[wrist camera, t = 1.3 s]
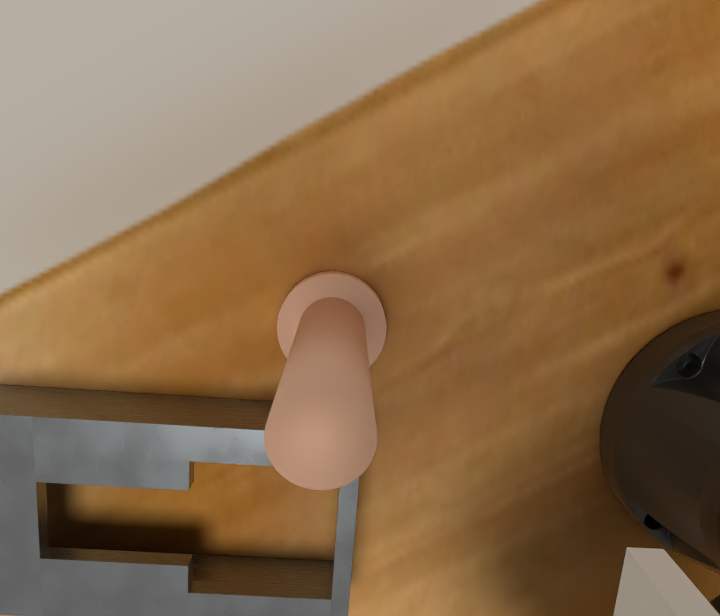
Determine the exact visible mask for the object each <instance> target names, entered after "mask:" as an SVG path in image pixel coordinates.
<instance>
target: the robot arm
mask: <svg viewBox="0 0 720 616" xmlns="http://www.w3.org/2000/svg"><path fill="white" fill-rule="evenodd" d="M600 453H601V460H602V465H603V469H604V473H605V475H606V478H607V481H608V483H609V485H610V487H611V489H612V491H613V493H614V494H615V496H616V497H617V499H618V500H619V501H620V503H621V504H622V505H623V506H624V507H625V509H626V510H627V511H628V512H629V513H630V515H631V516H632V517H633V518H634V519H635V520H636V522H637V523H638V524H639V525H640V526H641V527H642V528H643V529H644V530H645V531H646V532H647V533H648V534H650V535H651V536H652V537H653V538H654V539H656V540H657V541H659V542H660V543H661V544H663V545H665V546H666V547H668V548H669V549H671V550H673V551H675V552H677V553H679V554H681V555H683V556H685V557H687V558H688V559H690V560H692V561H694V562H696V563H698V564H700V565H702V566H704V567H706V568H708V569H710V570H711V571H713V572H715V573H717V574H719V575H720V311H715V312H711V313H707V314H703V315H700V316H697V317H694V318H692V319H689V320H687V321H685V322H683V323H680V324H678V325H676V326H675V327H673V328H671V329H669V330H668V331H666V332H665V333H663V334H662V335H660V336H659V337H657V338H656V339H655V340H653V341H652V342H651V343H650V344H648V345H647V346H646V347H645V348H644V349H643V350H642V351H641V352H640V353H639V354H638V355H637V356H636V357H635V358H634V359H633V360H632V362H631V363H630V364H629V365H628V366H627V368H626V369H625V370H624V372H623V373H622V375H621V376H620V378H619V379H618V381H617V383H616V385H615V386H614V388H613V390H612V392H611V395H610V397H609V399H608V402H607V405H606V408H605V411H604V415H603V419H602V424H601V431H600ZM613 616H720V595H719V596H718V597H716V598H715V599H713V600H712V601H711V602H708V600H707V599H706V598H705V597H704V596H703V595H702V593H701V592H700V591H699V590H698V589H697V588H696V586H695V585H694V584H693V583H692V582H691V581H690V579H689V578H688V577H687V576H686V575H685V573H684V572H683V571H682V570H681V569H680V568H679V566H678V565H677V564H676V563H675V562H674V561H673V559H672V558H671V557H670V556H669V555H668V554H667V552H666V551H665V550H664V549H653V548H633V547H627V549H626V554H625V559H624V564H623V569H622V574H621V579H620V584H619V589H618V594H617V599H616V604H615V609H614V614H613Z"/></svg>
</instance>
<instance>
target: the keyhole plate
mask: <svg viewBox="0 0 720 616" xmlns="http://www.w3.org/2000/svg"><path fill="white" fill-rule="evenodd" d="M272 404H273V401H260V400H244V399H228V398H211V397H195V396H179V395H163V394H146V393H130V392H114V391H98V390H82V389H65V388H49V387H33V386H17V385H0V615H18V616H348V609H349V596H350V584H351V572H352V560H353V548H354V535H355V523H356V511H357V499H358V486H359V477H358V478H357V479H355V480H354V481H352V482H351V483H349V484H347V485H344V486H342V487H339V497H338V511H337V524H336V538H335V552H334V561H318V560H299V559H279V558H260V557H240V556H221V555H201V554H182V553H162V552H143V551H124V550H104V549H85V548H65V547H49V531H48V511H47V491H46V483H62V484H80V485H98V486H116V487H134V488H153V489H171V490H189V489H190V487H191V485H192V483H193V481H194V462H210V463H227V464H245V465H262V466H273V465H272V463H271V462H270V460H269V458H268V456H267V453H266V449H265V444H264V431H265V426H266V422H267V419H268V416H269V413H270V410H271V407H272Z"/></svg>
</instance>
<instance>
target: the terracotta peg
mask: <svg viewBox="0 0 720 616" xmlns="http://www.w3.org/2000/svg"><path fill="white" fill-rule="evenodd" d="M386 330H387V325H386V318H385V314H384V310H383V307H382V304H381V302H380V300H379V298H378V296H377V294H376V293H375V292H374V290H373V289H372V288H371V287H370V286H369V285H368V284H367V283H366V282H364V281H363V280H361V279H360V278H358V277H356V276H354V275H352V274H349V273H345V272H340V271H324V272H319V273H315V274H313V275H310V276H308V277H306V278H305V279H303V280H301V281H300V282H299V283H298V284H296V285H295V286H294V287H293V288H292V290H291V291H290V292H289V294H288V295H287V297H286V299H285V301H284V303H283V305H282V307H281V309H280V312H279V315H278V320H277V336H278V341H279V344H280V347H281V349H282V352H283V353H284V355H285V357H286V358H287V361H286V364H285V367H284V371H283V374H282V377H281V380H280V383H279V386H278V389H277V392H276V395H275V398H274V401H273V404H272V407H271V410H270V413H269V416H268V419H267V422H266V426H265V431H264V444H265V449H266V453H267V456H268V458H269V460H270V462H271V463H272V465H273V467H274V468H275V469H276V470H277V471H278V473H279V474H281V475H282V476H283V477H284V478H285V479H287V480H288V481H290V482H291V483H293V484H295V485H298V486H300V487H303V488H307V489H312V490H330V489H335V488H339V487H342V486H344V485H347V484H349V483H351V482H352V481H354V480H355V479H357V478H358V477H359V476H360V475H361V474H362V473H363V472H364V471H365V470H366V469H367V468H368V466H369V465H370V463H371V461H372V459H373V457H374V455H375V452H376V448H377V427H376V419H375V410H374V402H373V393H372V385H371V377H370V368H369V367H370V366H371V365H372V364H373V363H374V362H375V360H376V359H377V358H378V356H379V355H380V353H381V351H382V349H383V346H384V343H385V339H386Z"/></svg>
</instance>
